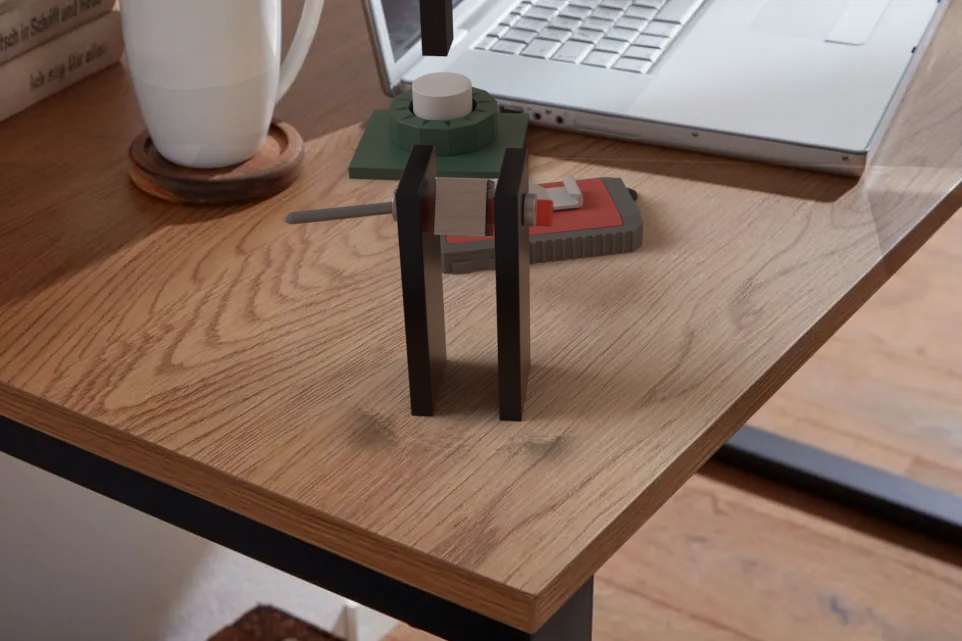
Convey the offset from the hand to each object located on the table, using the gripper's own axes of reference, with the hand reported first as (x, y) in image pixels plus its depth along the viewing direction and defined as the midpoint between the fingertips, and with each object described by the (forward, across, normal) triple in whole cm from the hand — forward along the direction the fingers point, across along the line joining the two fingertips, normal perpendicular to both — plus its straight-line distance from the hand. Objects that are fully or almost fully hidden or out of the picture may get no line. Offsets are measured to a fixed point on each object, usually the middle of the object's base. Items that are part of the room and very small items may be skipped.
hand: (438, 46), depth 79 cm
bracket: (+8, +5, -25) cm, 27 cm away
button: (+4, 0, 0) cm, 4 cm away
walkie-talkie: (+8, +3, -10) cm, 14 cm away
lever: (0, +5, -22) cm, 22 cm away
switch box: (+8, 0, -1) cm, 8 cm away
